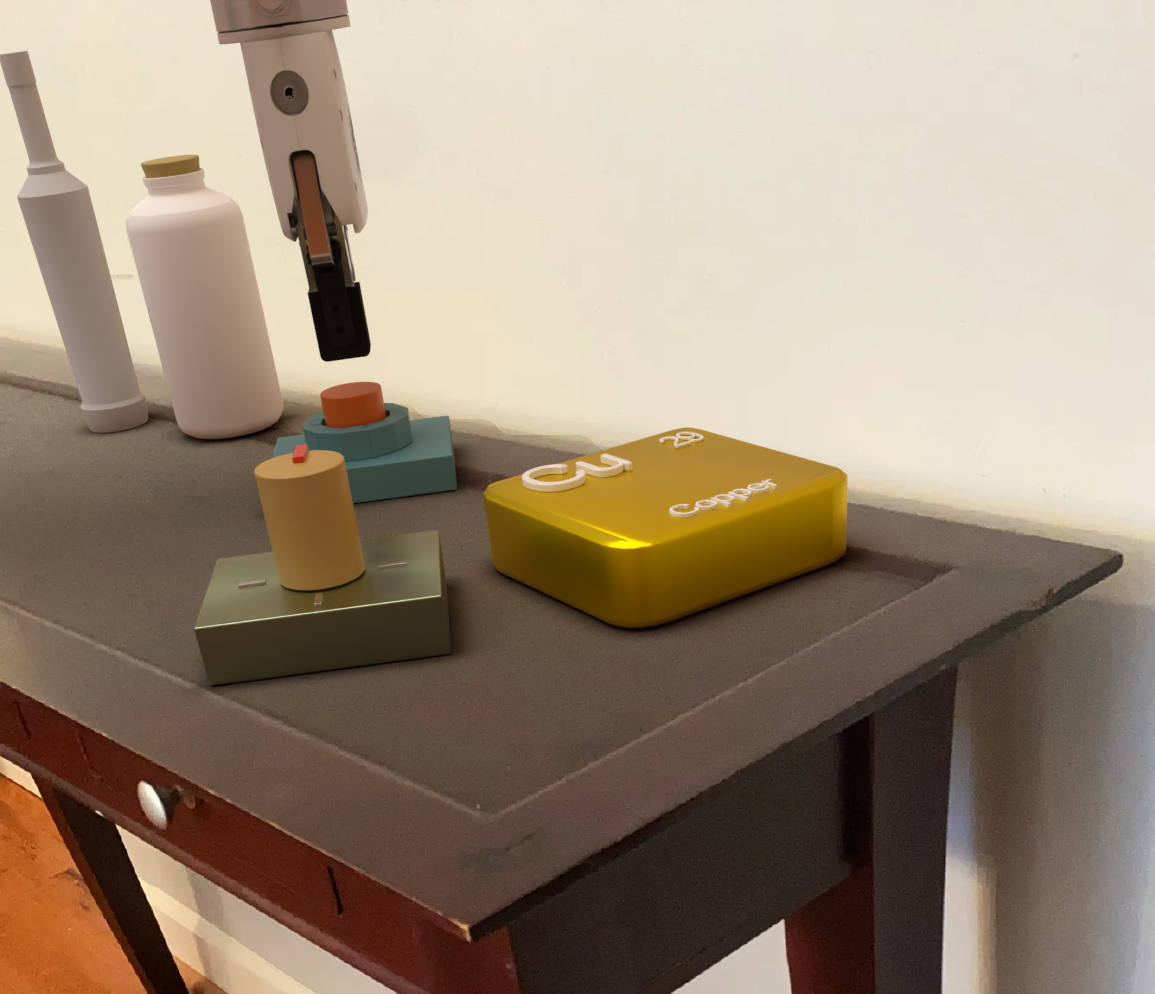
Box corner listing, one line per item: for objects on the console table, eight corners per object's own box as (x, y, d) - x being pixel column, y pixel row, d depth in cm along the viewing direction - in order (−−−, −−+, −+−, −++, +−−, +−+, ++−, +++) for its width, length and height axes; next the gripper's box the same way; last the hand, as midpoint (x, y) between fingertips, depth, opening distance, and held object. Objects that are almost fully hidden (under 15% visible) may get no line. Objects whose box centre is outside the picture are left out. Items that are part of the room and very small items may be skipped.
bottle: (76, 427, 115) (-36, 58, 99) (134, 412, 117) (33, 49, 102) (103, 437, 111) (-9, 56, 96) (161, 420, 114) (61, 46, 98)
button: (325, 434, 91) (318, 401, 90) (327, 419, 94) (321, 386, 93) (386, 426, 91) (380, 393, 90) (387, 411, 94) (381, 378, 93)
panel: (209, 686, 69) (192, 625, 67) (230, 612, 77) (215, 555, 75) (451, 654, 69) (441, 592, 67) (447, 583, 77) (437, 526, 75)
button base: (273, 514, 91) (258, 450, 88) (284, 470, 98) (270, 410, 96) (457, 490, 91) (447, 425, 88) (453, 447, 99) (444, 387, 96)
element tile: (632, 638, 68) (624, 540, 66) (479, 565, 79) (466, 478, 76) (863, 555, 74) (865, 462, 71) (692, 497, 85) (688, 414, 82)
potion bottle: (307, 413, 111) (251, 146, 100) (245, 444, 105) (180, 165, 94) (222, 411, 114) (159, 153, 103) (158, 442, 108) (85, 172, 97)
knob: (362, 585, 70) (339, 464, 66) (274, 595, 70) (246, 475, 66) (368, 555, 73) (345, 439, 69) (284, 565, 73) (257, 449, 70)
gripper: (340, -2, 73) (404, 375, 84) (350, -7, 85) (405, 324, 96) (196, 17, 73) (280, 392, 84) (227, 10, 85) (296, 339, 96)
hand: (346, 355), depth 90 cm, fingers closed
